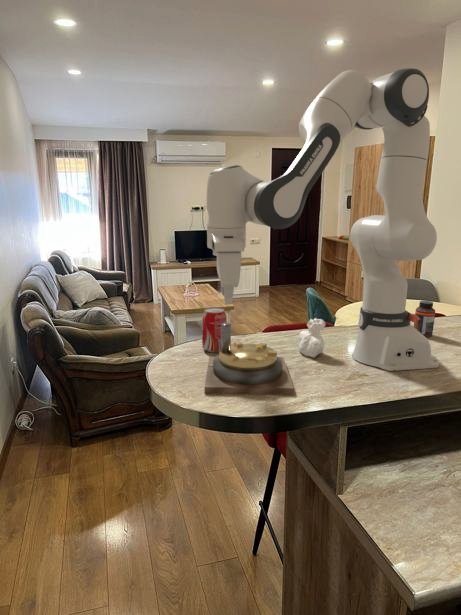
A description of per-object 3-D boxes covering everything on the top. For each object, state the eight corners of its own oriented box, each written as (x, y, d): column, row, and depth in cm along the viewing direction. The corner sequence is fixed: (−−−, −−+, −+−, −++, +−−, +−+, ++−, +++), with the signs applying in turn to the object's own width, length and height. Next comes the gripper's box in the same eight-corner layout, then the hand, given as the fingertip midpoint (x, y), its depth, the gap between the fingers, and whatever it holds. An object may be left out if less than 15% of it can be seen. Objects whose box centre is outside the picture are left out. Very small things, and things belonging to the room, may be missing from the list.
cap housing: (283, 362, 118) (283, 348, 117) (293, 394, 98) (294, 377, 97) (209, 361, 118) (209, 347, 117) (204, 393, 98) (204, 376, 97)
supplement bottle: (409, 332, 147) (412, 299, 144) (426, 332, 147) (430, 299, 145) (418, 338, 141) (422, 303, 138) (436, 337, 142) (440, 303, 139)
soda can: (203, 345, 131) (203, 306, 128) (226, 346, 131) (227, 307, 128) (201, 353, 124) (200, 312, 121) (225, 354, 124) (226, 313, 121)
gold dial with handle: (224, 349, 115) (224, 316, 113) (277, 352, 113) (278, 319, 111) (214, 369, 101) (214, 332, 99) (275, 373, 99) (276, 335, 97)
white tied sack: (321, 367, 121) (345, 334, 121) (302, 353, 118) (327, 320, 118) (301, 353, 132) (323, 323, 132) (283, 340, 129) (306, 309, 129)
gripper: (210, 236, 110) (211, 290, 113) (214, 244, 90) (215, 309, 93) (235, 236, 110) (236, 289, 113) (245, 244, 90) (245, 309, 94)
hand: (226, 299), depth 103 cm, fingers open, 8 cm apart
